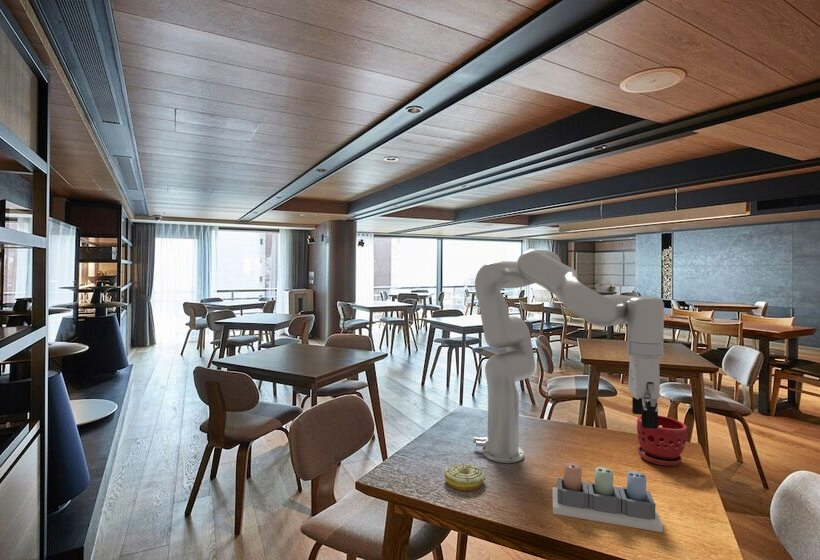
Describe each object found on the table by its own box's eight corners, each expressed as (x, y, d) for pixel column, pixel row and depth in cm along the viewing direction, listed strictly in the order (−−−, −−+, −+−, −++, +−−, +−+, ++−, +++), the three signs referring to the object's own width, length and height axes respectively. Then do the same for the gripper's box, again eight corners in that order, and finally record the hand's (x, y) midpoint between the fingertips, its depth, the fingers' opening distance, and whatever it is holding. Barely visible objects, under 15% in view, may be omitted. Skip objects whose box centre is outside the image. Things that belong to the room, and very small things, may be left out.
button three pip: (628, 499, 100) (628, 477, 99) (625, 490, 103) (625, 469, 103) (647, 502, 98) (648, 479, 98) (644, 493, 102) (644, 472, 102)
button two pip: (595, 494, 102) (595, 472, 102) (593, 486, 106) (594, 465, 105) (614, 497, 100) (614, 475, 100) (611, 488, 104) (612, 467, 104)
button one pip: (563, 489, 104) (564, 468, 104) (563, 481, 108) (563, 461, 108) (581, 492, 103) (582, 470, 102) (580, 484, 106) (581, 463, 106)
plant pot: (661, 472, 123) (662, 430, 123) (626, 453, 136) (627, 415, 135) (696, 466, 127) (698, 426, 126) (659, 448, 139) (660, 411, 139)
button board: (552, 513, 102) (553, 492, 102) (552, 492, 111) (552, 473, 111) (662, 532, 95) (663, 510, 95) (652, 508, 104) (652, 488, 104)
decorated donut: (492, 482, 117) (492, 469, 117) (469, 498, 109) (469, 483, 109) (460, 470, 124) (460, 457, 124) (437, 483, 116) (437, 469, 116)
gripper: (620, 342, 112) (620, 408, 112) (635, 355, 95) (634, 432, 95) (653, 343, 110) (652, 410, 110) (674, 357, 93) (673, 435, 93)
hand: (644, 420), depth 103 cm, fingers open, 9 cm apart
